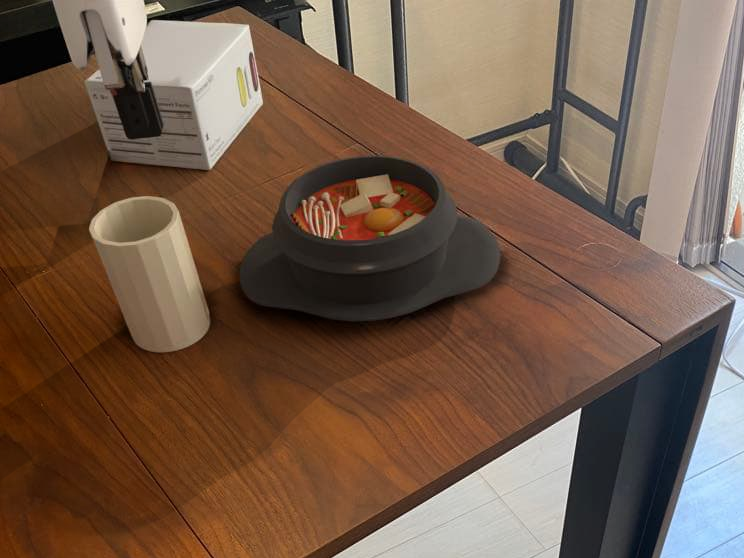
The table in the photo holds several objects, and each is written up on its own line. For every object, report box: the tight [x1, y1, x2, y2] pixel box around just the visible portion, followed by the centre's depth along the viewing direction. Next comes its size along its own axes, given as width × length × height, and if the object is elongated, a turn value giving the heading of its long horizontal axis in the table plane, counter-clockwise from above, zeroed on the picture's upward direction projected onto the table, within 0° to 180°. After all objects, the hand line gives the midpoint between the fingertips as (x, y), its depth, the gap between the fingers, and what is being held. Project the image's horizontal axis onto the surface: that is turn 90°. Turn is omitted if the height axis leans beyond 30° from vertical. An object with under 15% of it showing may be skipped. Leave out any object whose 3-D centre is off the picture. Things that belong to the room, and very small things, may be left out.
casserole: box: [238, 155, 501, 322], centre depth 78 cm, size 25×19×8 cm
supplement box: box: [84, 19, 264, 171], centre depth 98 cm, size 17×13×9 cm
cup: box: [88, 195, 211, 353], centre depth 74 cm, size 7×7×11 cm
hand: (145, 133), depth 75 cm, fingers closed
